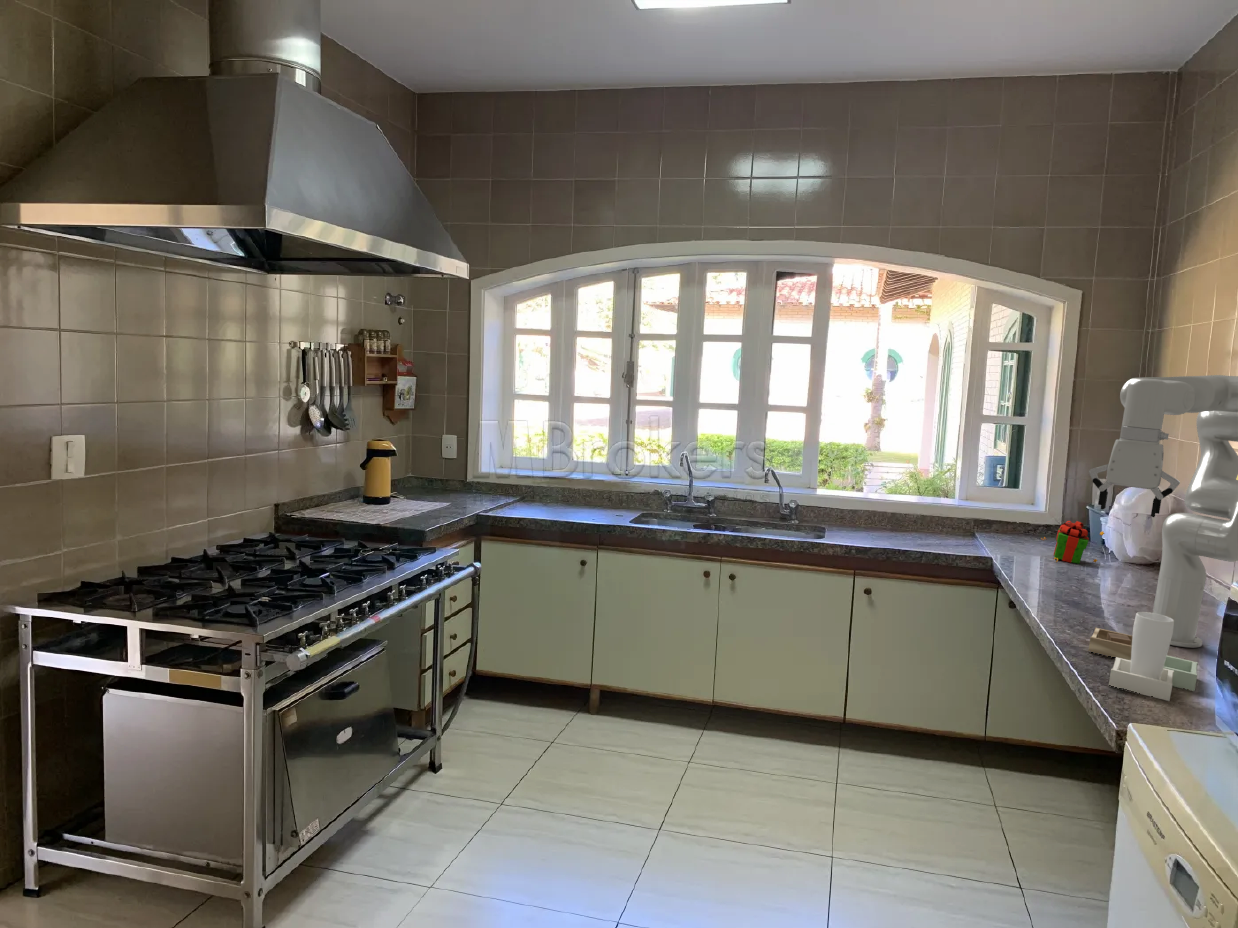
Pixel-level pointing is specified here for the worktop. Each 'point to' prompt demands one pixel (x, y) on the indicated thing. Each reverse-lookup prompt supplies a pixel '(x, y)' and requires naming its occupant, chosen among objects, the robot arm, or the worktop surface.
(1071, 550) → the gift wrap
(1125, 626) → the worktop surface
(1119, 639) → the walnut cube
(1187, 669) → the sage frame
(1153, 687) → the cream frame
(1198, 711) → the worktop surface
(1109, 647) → the beech frame
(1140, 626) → the white cup
